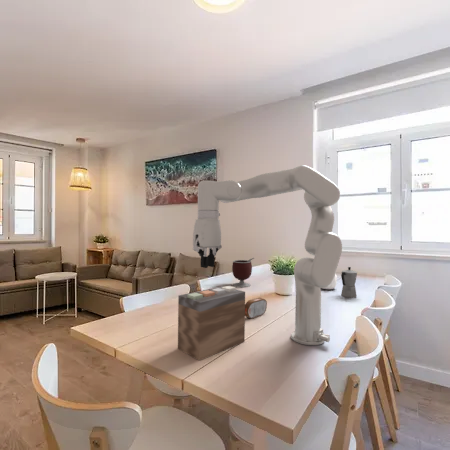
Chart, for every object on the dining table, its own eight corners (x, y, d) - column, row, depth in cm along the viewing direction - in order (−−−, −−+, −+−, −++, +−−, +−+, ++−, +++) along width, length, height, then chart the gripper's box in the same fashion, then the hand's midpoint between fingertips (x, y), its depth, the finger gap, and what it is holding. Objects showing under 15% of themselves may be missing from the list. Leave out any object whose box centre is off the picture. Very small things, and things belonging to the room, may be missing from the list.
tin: (262, 312, 146) (263, 295, 146) (267, 313, 144) (268, 296, 144) (242, 319, 136) (243, 301, 136) (247, 320, 134) (248, 302, 134)
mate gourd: (229, 286, 202) (230, 257, 202) (234, 282, 215) (235, 255, 215) (251, 288, 198) (252, 259, 197) (255, 284, 211) (256, 256, 211)
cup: (319, 285, 210) (320, 266, 210) (339, 288, 202) (339, 268, 202) (313, 288, 199) (314, 269, 199) (333, 291, 192) (334, 271, 192)
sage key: (202, 301, 101) (202, 294, 101) (194, 303, 98) (194, 296, 98) (195, 299, 104) (196, 292, 104) (187, 301, 101) (187, 294, 101)
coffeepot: (346, 292, 189) (347, 265, 189) (361, 295, 182) (362, 267, 181) (334, 296, 179) (334, 267, 179) (348, 299, 172) (349, 269, 172)
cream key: (235, 293, 113) (235, 287, 112) (228, 295, 110) (228, 289, 110) (228, 291, 115) (228, 285, 115) (221, 293, 113) (221, 287, 113)
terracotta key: (214, 298, 105) (214, 292, 105) (206, 300, 102) (206, 293, 102) (207, 296, 108) (207, 290, 108) (199, 298, 105) (199, 291, 105)
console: (244, 341, 110) (245, 291, 110) (199, 360, 95) (200, 302, 95) (222, 332, 119) (223, 286, 119) (177, 348, 104) (178, 295, 103)
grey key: (225, 296, 109) (225, 289, 109) (218, 297, 106) (218, 291, 106) (218, 294, 111) (218, 287, 111) (211, 295, 109) (211, 289, 109)
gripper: (217, 216, 113) (216, 263, 113) (183, 215, 101) (182, 268, 102) (231, 216, 107) (230, 266, 108) (197, 215, 96) (196, 270, 96)
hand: (207, 266), depth 105 cm, fingers open, 2 cm apart
